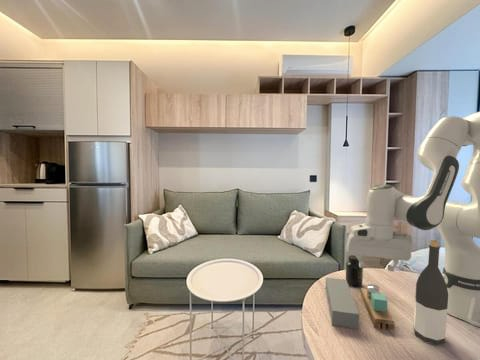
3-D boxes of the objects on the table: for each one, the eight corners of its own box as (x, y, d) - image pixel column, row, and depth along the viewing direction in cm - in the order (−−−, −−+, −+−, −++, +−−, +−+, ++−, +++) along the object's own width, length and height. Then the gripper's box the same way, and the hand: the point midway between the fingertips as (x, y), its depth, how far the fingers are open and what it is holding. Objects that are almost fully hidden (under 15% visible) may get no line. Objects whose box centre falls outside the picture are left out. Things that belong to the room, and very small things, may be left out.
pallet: (375, 298, 100) (376, 289, 99) (393, 332, 80) (394, 321, 80) (360, 296, 101) (360, 287, 101) (374, 329, 82) (374, 318, 81)
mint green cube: (383, 305, 89) (383, 294, 88) (386, 312, 85) (387, 300, 84) (370, 303, 90) (371, 293, 89) (373, 310, 86) (374, 299, 85)
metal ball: (377, 294, 95) (377, 284, 95) (380, 300, 92) (381, 290, 91) (365, 293, 96) (366, 283, 96) (368, 299, 92) (369, 288, 92)
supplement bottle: (358, 280, 114) (360, 254, 113) (364, 287, 107) (366, 260, 106) (343, 279, 115) (344, 253, 114) (348, 287, 108) (349, 259, 107)
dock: (345, 291, 104) (346, 279, 104) (358, 329, 81) (358, 314, 81) (325, 288, 106) (325, 277, 106) (332, 325, 83) (332, 310, 82)
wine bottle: (421, 343, 74) (428, 245, 72) (407, 326, 82) (412, 236, 80) (451, 346, 73) (459, 246, 71) (434, 328, 81) (440, 237, 79)
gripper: (408, 231, 89) (405, 269, 90) (346, 226, 94) (344, 262, 95) (416, 236, 83) (413, 276, 84) (349, 230, 88) (347, 268, 89)
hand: (376, 269), depth 89 cm, fingers open, 8 cm apart
